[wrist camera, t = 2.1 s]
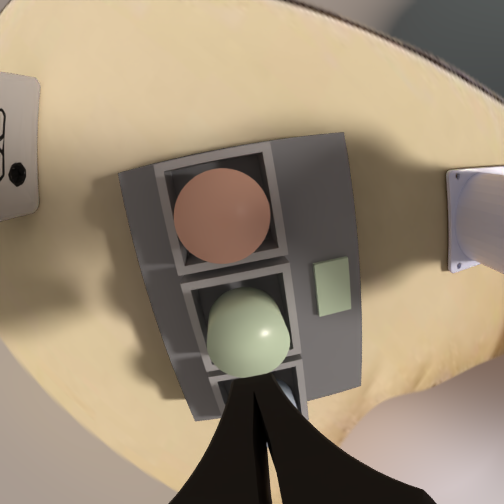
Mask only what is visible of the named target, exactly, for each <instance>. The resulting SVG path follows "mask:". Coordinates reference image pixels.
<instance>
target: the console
mask: <svg viewBox="0 0 504 504" xmlns="http://www.w3.org/2000/svg"><path fill="white" fill-rule="evenodd" d="M218 168H227V169H233V170H237V171H240V172H242V173H244V174H246V175H248V176H249V177H251V178H252V179H253V180H255V181H256V182H257V183H258V185H259V186H260V187H261V188H262V190H263V191H264V193H265V195H266V197H267V200H268V203H269V207H270V225H269V229H268V232H267V235H266V237H265V239H264V240H263V242H262V244H261V245H260V246H259V247H258V248H257V249H256V250H255V251H254V252H253V253H252V254H251V255H249V256H248V257H246V258H244V259H242V260H240V261H237V262H233V263H228V264H216V263H210V262H207V261H204V260H202V259H200V258H198V257H196V256H195V255H193V254H192V253H190V252H189V251H188V250H187V249H186V248H185V246H184V245H183V244H182V242H181V241H180V239H179V237H178V235H177V232H176V229H175V225H174V208H175V204H176V200H177V198H178V196H179V194H180V192H181V190H182V189H183V188H184V186H185V185H186V184H187V183H188V182H189V181H190V180H191V179H193V178H194V177H195V176H197V175H199V174H200V173H203V172H205V171H208V170H212V169H218ZM118 176H119V181H120V186H121V191H122V196H123V201H124V205H125V210H126V214H127V218H128V223H129V227H130V231H131V235H132V239H133V243H134V247H135V251H136V254H137V258H138V262H139V265H140V269H141V272H142V276H143V279H144V283H145V286H146V290H147V293H148V296H149V299H150V303H151V306H152V309H153V312H154V315H155V318H156V321H157V324H158V327H159V330H160V333H161V336H162V339H163V341H164V344H165V347H166V350H167V353H168V355H169V358H170V361H171V363H172V366H173V369H174V371H175V374H176V376H177V379H178V381H179V384H180V386H181V389H182V391H183V394H184V396H185V399H186V401H187V403H188V406H189V408H190V410H191V413H192V415H193V417H194V420H195V421H202V420H210V419H218V418H221V417H222V414H223V411H224V409H225V405H226V402H227V399H228V395H229V391H230V387H231V382H232V381H233V380H235V379H240V377H235V376H231V375H229V374H226V373H225V372H223V371H221V370H220V369H219V368H217V367H216V366H215V365H214V363H213V362H212V361H211V359H210V357H209V354H208V351H207V334H208V319H209V313H210V309H211V307H212V305H213V304H214V302H215V301H216V300H217V299H218V298H219V297H220V296H221V295H222V294H224V293H225V292H227V291H229V290H232V289H235V288H240V287H251V288H256V289H259V290H262V291H264V292H266V293H267V294H268V295H270V296H271V297H272V298H273V299H274V301H275V302H276V304H277V305H278V308H279V310H280V312H281V315H282V317H283V320H284V322H285V325H286V327H287V329H288V332H289V336H290V347H289V351H288V353H287V356H286V357H285V359H284V360H283V362H282V363H281V364H280V365H279V366H278V367H277V368H275V369H274V370H272V371H271V372H269V373H272V374H273V375H274V376H275V378H276V379H279V380H282V381H283V382H285V383H286V384H287V385H288V386H289V387H290V389H291V391H292V394H293V397H294V400H295V403H296V406H297V409H298V411H299V412H300V413H301V414H302V415H303V416H304V417H305V418H306V419H307V420H309V418H308V407H307V401H310V400H314V399H318V398H321V397H325V396H329V395H332V394H336V393H339V392H343V391H346V390H349V389H352V388H356V387H359V386H361V369H362V309H361V282H360V264H359V250H358V237H357V226H356V216H355V207H354V198H353V190H352V182H351V175H350V168H349V161H348V154H347V148H346V142H345V136H344V132H340V133H329V134H319V135H310V136H301V137H293V138H286V139H278V140H271V141H265V142H258V143H252V144H246V145H240V146H234V147H229V148H223V149H218V150H213V151H208V152H203V153H198V154H193V155H189V156H184V157H180V158H175V159H171V160H167V161H163V162H159V163H154V164H150V165H147V166H143V167H139V168H135V169H131V170H128V171H124V172H121V173H118Z"/></svg>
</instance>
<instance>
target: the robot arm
mask: <svg viewBox="0 0 504 504" xmlns="http://www.w3.org/2000/svg"><path fill="white" fill-rule="evenodd" d="M456 174H457V178H456ZM446 181H447V196H448V220H449V252H448V270H449V271H450V272H452V273H456V272H459V271H461V270H464V269H467V268H470V267H473V266H476V265H479V264H483V265H485V266H487V267H490V268H492V269H494V270H496V271H498V272H500V273H503V274H504V166H494V167H479V168H465V169H453V170H448V171H447V174H446ZM457 265H458V266H457ZM267 444H268V447H269V451H270V454H271V457H272V460H273V463H274V466H275V469H276V472H277V477H278V482H279V487H280V493H281V498H282V503H283V504H436V503H435V502H434V500H433V499H432V498H431V497H430V496H429V495H428V494H427V493H426V492H425V491H424V490H423V489H420V488H417V487H414V486H411V485H408V484H405V483H403V482H400V481H398V480H395V479H393V478H391V477H389V476H386V475H384V474H382V473H380V472H378V471H376V470H374V469H372V468H371V467H369V466H367V465H365V464H364V463H362V462H360V461H359V460H357V459H355V458H354V457H352V456H350V455H349V454H347V453H346V452H344V451H343V450H342V449H340V448H339V447H337V446H336V445H335V444H334V443H332V442H331V441H330V440H329V439H327V438H326V437H325V436H324V435H323V434H321V433H320V432H319V431H318V430H317V429H316V428H315V427H314V426H313V425H312V424H311V423H310V422H309V421H308V420H307V419H306V418H305V417H304V416H303V415H302V414H301V413H300V412H299V411H298V409H297V408H296V407H295V406H294V405H293V404H292V402H291V401H290V400H289V399H288V397H287V396H286V394H285V393H284V392H283V390H282V389H281V387H280V386H279V384H278V382H277V380H276V378H275V376H274V375H273V374H272V373H266V374H261V375H256V376H251V377H246V378H240V379H235V380H233V381H232V382H231V387H230V391H229V395H228V399H227V402H226V405H225V409H224V411H223V414H222V417H221V419H220V422H219V425H218V427H217V429H216V431H215V434H214V436H213V438H212V440H211V442H210V444H209V446H208V448H207V450H206V452H205V454H204V456H203V457H202V459H201V461H200V462H199V464H198V466H197V467H196V469H195V470H194V472H193V473H192V475H191V476H190V477H189V479H188V480H187V482H186V483H185V484H184V486H183V487H182V488H181V490H180V491H179V492H178V493H177V495H176V496H175V497H174V498H173V499H172V500H171V501H170V503H169V504H272V499H271V490H270V478H269V465H268V453H267Z"/></svg>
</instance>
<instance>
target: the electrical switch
mask: <svg viewBox="0 0 504 504" xmlns="http://www.w3.org/2000/svg"><path fill="white" fill-rule="evenodd" d="M40 88H41V86H40V83H39V81H38V80H37V78H35V77H29V76H24V75H18V74H12V73H6V72H0V221H4V220H8V219H12V218H16V217H19V216H23V215H27V214H32V213H34V212H35V211H36V210H37V208H38V205H39V191H38V169H37V133H38V111H39V98H40Z"/></svg>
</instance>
